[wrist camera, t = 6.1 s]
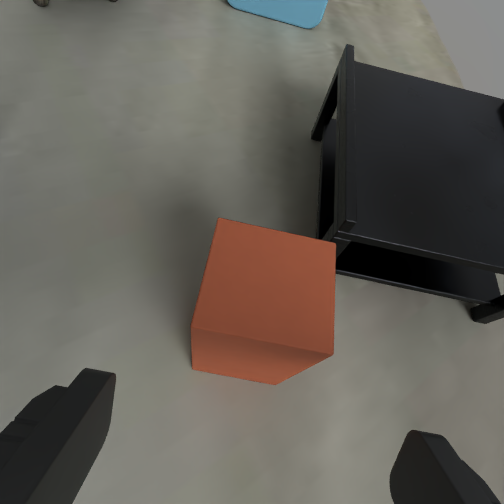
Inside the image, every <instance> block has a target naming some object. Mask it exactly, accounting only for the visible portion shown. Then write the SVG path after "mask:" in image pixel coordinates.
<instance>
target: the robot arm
mask: <svg viewBox="0 0 504 504" xmlns="http://www.w3.org/2000/svg"><path fill="white" fill-rule="evenodd" d="M115 383H116V374H115V373H111V372H106V371H100V370H95V369H89V368H85V369H83V370H82V371H81V372H80V373H79V375H78V376H77V377H76V378H75V379H74V381H73V382H72V383H71V384H70V385H69V387H62V386H57V385H55V386H53V387H52V388H50V389H48V390H47V391H45V392H43V393H42V394H40V395H38V396H37V397H35V398H33V399H32V400H31V401H30V402H29V403H28V404H27V405H26V406H25V408H24V409H23V410H22V411H21V412H20V413H19V414H18V415H17V416H16V417H15V420H14V421H11V422H10V424H9V425H8V426H7V427H6V428H5V429H4V430H3V431H2V432H1V433H0V504H72V503H73V501H74V499H75V497H76V495H77V493H78V492H79V490H80V488H81V486H82V484H83V482H84V480H85V478H86V476H87V475H88V473H89V471H90V469H91V467H92V465H93V463H94V461H95V459H96V458H97V456H98V454H99V452H100V450H101V448H102V446H103V444H104V441H105V439H106V436H107V433H108V430H109V426H110V422H111V415H112V407H113V399H114V391H115ZM390 492H391V496H392V499H393V502H394V504H501V503H500V501H499V500H498V499H497V497H496V496H495V495H494V493H493V492H492V491H491V489H490V488H489V487H488V485H487V484H486V482H485V481H484V480H483V479H482V478H481V477H480V476H479V475H478V474H477V473H476V472H474V471H473V470H472V469H471V468H470V467H469V466H468V465H467V464H466V463H465V462H464V461H462V460H461V459H460V458H459V456H458V455H457V453H456V452H455V451H454V449H453V448H452V446H451V445H450V444H449V442H448V441H447V440H446V438H444V437H443V436H442V435H438V434H433V433H428V432H422V431H417V430H411V431H410V432H409V433H408V434H407V436H406V438H405V440H404V443H403V445H402V447H401V449H400V452H399V454H398V456H397V459H396V461H395V463H394V466H393V468H392V470H391V474H390Z"/></svg>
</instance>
